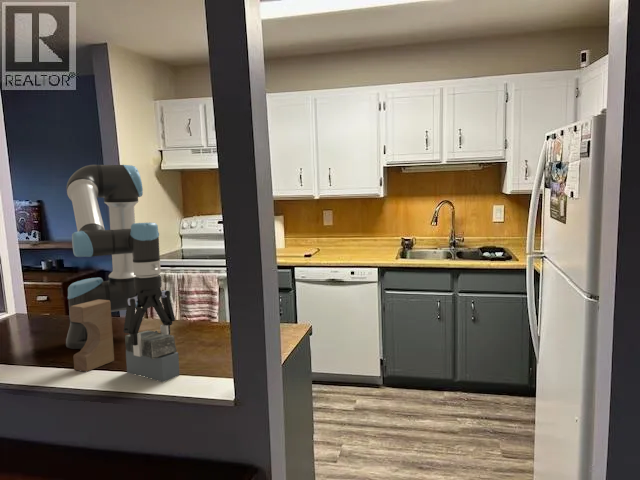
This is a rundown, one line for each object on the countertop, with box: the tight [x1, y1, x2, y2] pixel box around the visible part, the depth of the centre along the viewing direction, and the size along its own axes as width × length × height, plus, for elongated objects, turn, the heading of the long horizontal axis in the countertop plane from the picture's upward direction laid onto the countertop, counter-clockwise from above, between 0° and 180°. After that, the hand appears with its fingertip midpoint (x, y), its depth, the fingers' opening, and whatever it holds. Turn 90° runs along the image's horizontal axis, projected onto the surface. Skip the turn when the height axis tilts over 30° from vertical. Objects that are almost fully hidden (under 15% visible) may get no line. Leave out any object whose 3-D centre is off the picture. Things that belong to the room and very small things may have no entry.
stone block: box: [124, 330, 178, 359], centre depth 144 cm, size 9×14×5 cm, turn 50°
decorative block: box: [69, 299, 115, 372], centre depth 153 cm, size 11×6×20 cm, turn 154°
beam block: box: [125, 349, 181, 383], centre depth 145 cm, size 16×6×7 cm, turn 58°
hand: (152, 350), depth 144 cm, fingers closed on stone block, 9 cm apart
